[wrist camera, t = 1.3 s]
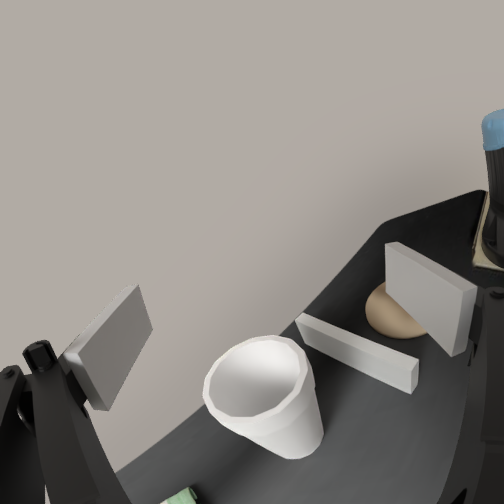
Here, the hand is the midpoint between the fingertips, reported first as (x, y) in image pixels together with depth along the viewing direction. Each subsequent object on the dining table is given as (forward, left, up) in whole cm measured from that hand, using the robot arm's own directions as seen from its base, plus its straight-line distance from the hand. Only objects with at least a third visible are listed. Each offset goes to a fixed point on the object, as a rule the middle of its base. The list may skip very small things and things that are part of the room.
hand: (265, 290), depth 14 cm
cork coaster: (-22, -6, -23) cm, 32 cm away
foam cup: (+2, -6, -23) cm, 24 cm away
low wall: (-10, -7, -23) cm, 26 cm away
